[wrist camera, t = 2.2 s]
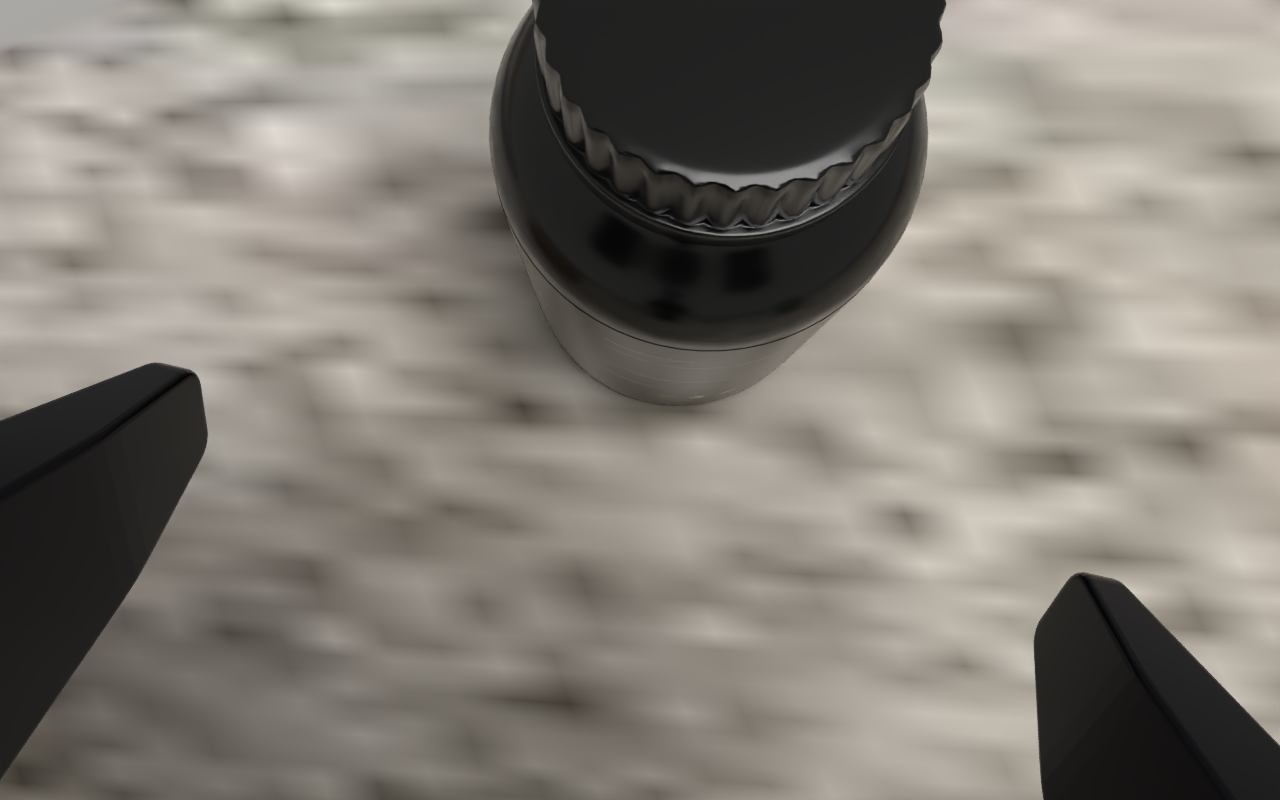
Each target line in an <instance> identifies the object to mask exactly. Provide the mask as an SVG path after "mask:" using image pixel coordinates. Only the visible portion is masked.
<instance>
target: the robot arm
mask: <svg viewBox="0 0 1280 800" xmlns="http://www.w3.org/2000/svg"><path fill="white" fill-rule="evenodd" d="M207 437H208V432H207V424H206V417H205V411H204V404H203V397H202V390H201V384H200V380H199V378H198V376H197V375H196V374H195V373H194V372H193V371H191V370H189V369H185V368H181V367H176V366H172V365H167V364H163V363H150V364H147V365H144V366H141V367H138V368H136V369H133V370H131V371H128V372H125V373H123V374H120V375H118V376H115V377H113V378H110V379H107V380H105V381H102V382H100V383H97V384H94V385H92V386H89V387H87V388H84V389H81V390H79V391H76V392H74V393H71V394H68V395H66V396H63V397H61V398H58V399H55V400H53V401H50V402H48V403H45V404H43V405H40V406H37V407H35V408H32V409H30V410H27V411H24V412H22V413H19V414H17V415H14V416H11V417H9V418H6V419H4V420H1V421H0V780H1V778H2V777H3V775H4V774H5V772H6V771H7V769H8V768H9V766H10V765H11V764H12V762H13V761H14V759H15V758H16V756H17V755H18V753H19V752H20V750H21V749H22V747H23V746H24V745H25V743H26V742H27V740H28V739H29V737H30V736H31V734H32V733H33V731H34V730H35V728H36V727H37V726H38V724H39V723H40V721H41V720H42V718H43V717H44V715H45V714H46V712H47V711H48V709H49V708H50V707H51V705H52V704H53V702H54V701H55V699H56V698H57V696H58V695H59V693H60V692H61V690H62V689H63V688H64V686H65V685H66V683H67V682H68V680H69V679H70V677H71V676H72V674H73V673H74V671H75V670H76V669H77V667H78V666H79V664H80V663H81V661H82V660H83V658H84V657H85V655H86V654H87V652H88V651H89V650H90V648H91V647H92V645H93V644H94V642H95V641H96V639H97V638H98V636H99V635H100V633H101V632H102V631H103V629H104V628H105V626H106V625H107V623H108V622H109V620H110V619H111V617H112V616H113V614H114V613H115V612H116V610H117V609H118V607H119V606H120V604H121V603H122V601H123V600H124V598H125V597H126V595H127V594H128V592H129V591H130V589H131V588H132V586H133V584H134V583H135V581H136V580H137V578H138V576H139V575H140V573H141V571H142V569H143V568H144V566H145V564H146V562H147V561H148V559H149V557H150V555H151V553H152V551H153V549H154V547H155V545H156V544H157V542H158V540H159V538H160V536H161V534H162V532H163V530H164V528H165V527H166V525H167V523H168V521H169V519H170V517H171V515H172V513H173V511H174V509H175V508H176V506H177V504H178V502H179V500H180V498H181V496H182V494H183V492H184V491H185V489H186V487H187V485H188V483H189V481H190V479H191V477H192V475H193V473H194V472H195V470H196V468H197V466H198V464H199V462H200V460H201V458H202V456H203V454H204V451H205V448H206V444H207ZM1034 661H1035V681H1036V701H1037V721H1038V740H1039V760H1040V773H1041V785H1042V792H1043V799H1044V800H1280V745H1279V744H1278V743H1277V742H1276V741H1275V740H1274V739H1273V738H1272V737H1271V736H1270V735H1269V734H1268V733H1267V732H1266V731H1265V730H1264V729H1263V728H1262V727H1261V726H1260V725H1259V724H1258V723H1257V722H1256V721H1255V720H1254V718H1253V717H1252V716H1251V715H1250V714H1249V713H1248V712H1247V711H1246V710H1245V709H1244V708H1243V707H1242V706H1241V705H1240V704H1239V703H1238V702H1237V701H1236V700H1235V699H1234V698H1233V697H1232V696H1231V695H1230V694H1229V693H1228V692H1227V691H1226V690H1225V688H1224V687H1223V686H1222V685H1221V684H1220V683H1219V682H1218V681H1217V680H1216V679H1215V678H1214V677H1213V676H1212V675H1211V674H1210V673H1209V672H1208V671H1207V670H1206V669H1205V668H1204V667H1203V666H1202V665H1201V664H1200V663H1199V662H1198V661H1197V660H1196V659H1195V657H1194V656H1193V655H1192V654H1191V653H1190V652H1189V651H1188V650H1187V649H1186V648H1185V647H1184V646H1183V645H1182V644H1181V643H1180V642H1179V641H1178V640H1177V639H1176V638H1175V637H1174V636H1173V635H1172V634H1171V633H1170V632H1169V631H1168V630H1167V629H1166V628H1165V626H1164V625H1163V624H1162V623H1161V622H1160V621H1159V620H1158V619H1157V618H1156V617H1155V616H1154V615H1153V614H1152V613H1151V612H1150V611H1149V610H1148V609H1147V608H1146V607H1145V606H1144V605H1143V604H1142V603H1141V602H1140V601H1139V600H1138V599H1137V598H1136V597H1135V595H1134V594H1133V593H1132V592H1131V591H1130V590H1129V589H1128V588H1127V587H1126V586H1125V585H1124V584H1122V583H1121V582H1119V581H1117V580H1115V579H1112V578H1107V577H1103V576H1098V575H1094V574H1090V573H1085V572H1082V573H1076V574H1074V575H1073V576H1071V577H1070V578H1069V579H1068V581H1067V582H1066V583H1065V585H1064V586H1063V588H1062V589H1061V591H1060V592H1059V593H1058V595H1057V596H1056V598H1055V599H1054V601H1053V602H1052V604H1051V605H1050V606H1049V608H1048V609H1047V611H1046V612H1045V614H1044V615H1043V617H1042V618H1041V619H1040V621H1039V623H1038V626H1037V628H1036V632H1035V636H1034Z"/></svg>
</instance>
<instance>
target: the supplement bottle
mask: <svg viewBox="0 0 1280 800" xmlns="http://www.w3.org/2000/svg"><path fill="white" fill-rule="evenodd" d="M532 3H533V4H532V6H531V7H530V8H529V10H528V11H527V13H526V14H525V15H524V17H523V18H522V20H521V22H520V23H519V25H518V27H517V29H516V30H515V32H514V34H513V36H512V37H511V40H510V42H509V44H508V46H507V49H506V51H505V53H504V55H503V58H502V61H501V65H500V68H499V71H498V74H497V77H496V82H495V86H494V91H493V96H492V102H491V111H490V130H489V140H490V151H491V161H492V166H493V171H494V176H495V181H496V186H497V191H498V194H499V197H500V201H501V204H502V207H503V210H504V213H505V216H506V219H507V221H508V224H509V226H510V229H511V232H512V234H513V237H514V239H515V242H516V245H517V247H518V250H519V252H520V255H521V258H522V260H523V263H524V265H525V268H526V271H527V273H528V276H529V278H530V281H531V283H532V286H533V289H534V291H535V294H536V296H537V299H538V302H539V304H540V306H541V309H542V311H543V313H544V316H545V318H546V320H547V322H548V324H549V326H550V328H551V330H552V331H553V333H554V335H555V337H556V338H557V340H558V341H559V343H560V344H561V345H562V347H563V348H564V349H565V351H566V352H567V353H568V354H569V355H570V357H571V358H572V359H573V360H574V361H575V362H576V363H577V364H578V365H579V366H580V367H581V368H582V369H583V370H585V371H586V372H587V373H588V374H590V375H591V376H592V377H593V378H595V379H596V380H598V381H599V382H601V383H602V384H604V385H605V386H607V387H609V388H611V389H613V390H615V391H617V392H619V393H621V394H624V395H626V396H629V397H631V398H635V399H638V400H642V401H645V402H650V403H656V404H663V405H694V404H703V403H707V402H712V401H716V400H720V399H723V398H726V397H729V396H732V395H734V394H736V393H739V392H741V391H743V390H745V389H747V388H749V387H751V386H752V385H754V384H756V383H757V382H759V381H760V380H762V379H763V378H765V377H766V376H768V375H769V374H770V373H771V372H773V371H774V370H775V369H776V368H778V367H779V366H780V365H781V364H782V363H783V362H785V361H786V360H787V359H788V358H789V357H790V356H791V355H792V354H793V353H794V352H795V351H796V350H798V349H799V348H800V347H801V346H802V345H803V344H804V343H805V342H806V341H807V340H808V339H809V338H810V337H812V336H813V335H814V334H815V333H816V332H817V331H818V330H819V329H820V328H821V327H822V326H823V325H824V324H825V323H827V322H828V321H829V320H830V319H831V318H832V317H833V316H834V315H835V314H836V313H837V312H838V311H839V310H841V309H842V308H843V307H844V306H845V305H846V304H847V303H848V302H849V301H850V300H851V299H852V298H853V297H854V296H855V295H856V294H857V293H858V292H859V291H860V290H861V289H862V288H863V287H864V286H865V285H866V284H867V283H868V282H869V281H870V280H871V279H872V277H873V276H874V275H875V274H876V272H877V271H878V270H879V269H880V267H881V266H882V265H883V264H884V262H885V261H886V260H887V258H888V257H889V256H890V254H891V253H892V251H893V250H894V248H895V246H896V245H897V243H898V242H899V240H900V238H901V237H902V235H903V233H904V231H905V229H906V227H907V225H908V223H909V221H910V219H911V216H912V214H913V211H914V208H915V206H916V203H917V200H918V197H919V193H920V189H921V185H922V182H923V178H924V172H925V165H926V159H927V145H928V126H927V111H926V105H925V98H924V92H925V90H926V89H927V87H928V85H929V82H930V78H931V63H932V62H933V60H934V59H935V57H936V56H937V54H938V53H939V51H940V49H941V46H942V42H943V41H942V31H941V28H940V24H939V23H940V21H941V19H942V16H943V13H944V11H945V7H946V1H945V0H532Z"/></svg>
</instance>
